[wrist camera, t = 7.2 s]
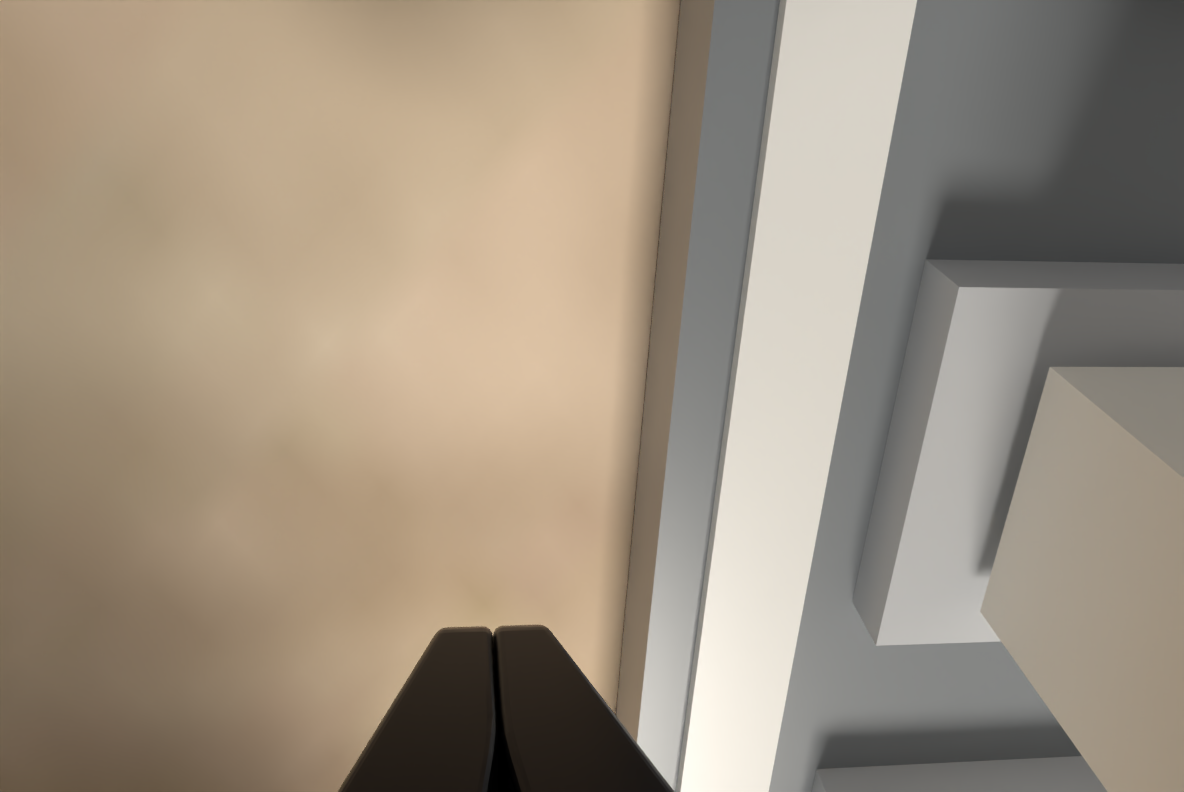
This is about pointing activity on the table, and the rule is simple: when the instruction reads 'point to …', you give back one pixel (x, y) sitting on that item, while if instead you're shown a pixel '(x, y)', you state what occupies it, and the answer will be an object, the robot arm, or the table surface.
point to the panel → (880, 371)
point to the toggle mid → (1102, 569)
